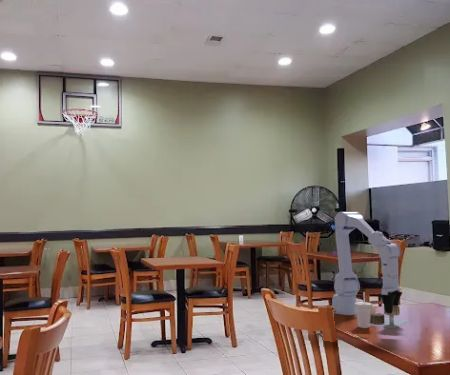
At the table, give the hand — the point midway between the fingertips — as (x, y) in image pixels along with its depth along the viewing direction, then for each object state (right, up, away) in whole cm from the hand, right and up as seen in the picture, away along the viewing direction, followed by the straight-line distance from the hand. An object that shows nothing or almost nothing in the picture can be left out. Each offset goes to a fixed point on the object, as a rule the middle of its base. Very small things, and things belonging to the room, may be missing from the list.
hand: (391, 311), depth 182 cm
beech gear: (0, -1, 0) cm, 1 cm away
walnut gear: (-4, -5, +3) cm, 7 cm away
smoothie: (-12, -6, -5) cm, 14 cm away
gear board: (-1, -6, +3) cm, 7 cm away
